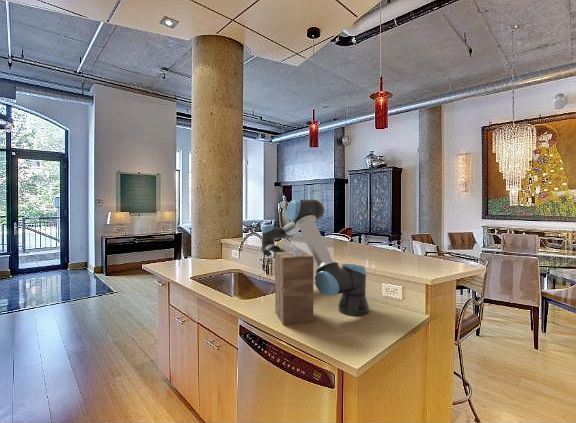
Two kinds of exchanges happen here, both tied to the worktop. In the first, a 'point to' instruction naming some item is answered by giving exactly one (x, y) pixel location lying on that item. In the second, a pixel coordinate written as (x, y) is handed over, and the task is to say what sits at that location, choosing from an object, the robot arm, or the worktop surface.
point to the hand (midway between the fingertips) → (285, 255)
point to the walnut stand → (294, 288)
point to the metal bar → (291, 249)
